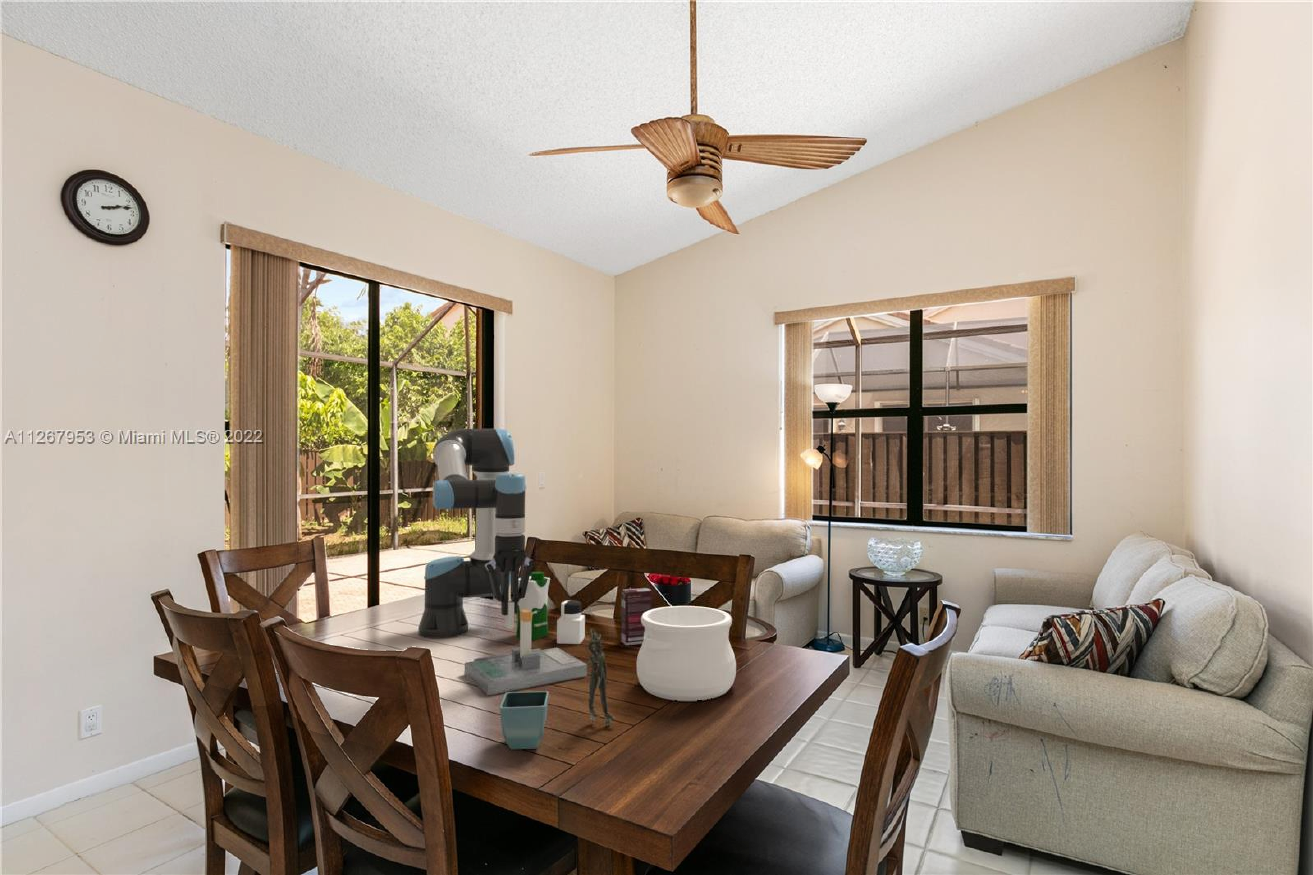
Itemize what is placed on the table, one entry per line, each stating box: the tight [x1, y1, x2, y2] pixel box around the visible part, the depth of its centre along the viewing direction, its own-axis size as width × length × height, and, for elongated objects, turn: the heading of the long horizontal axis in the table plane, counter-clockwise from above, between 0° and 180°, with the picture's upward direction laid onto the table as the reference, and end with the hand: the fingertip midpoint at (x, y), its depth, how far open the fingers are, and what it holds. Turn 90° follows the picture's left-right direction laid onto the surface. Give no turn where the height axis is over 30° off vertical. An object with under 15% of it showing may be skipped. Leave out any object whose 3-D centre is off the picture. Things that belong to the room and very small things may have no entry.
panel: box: [464, 647, 588, 696], centre depth 178 cm, size 18×26×6 cm
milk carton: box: [515, 570, 551, 641], centre depth 215 cm, size 9×9×20 cm
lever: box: [519, 609, 532, 659], centre depth 178 cm, size 4×2×13 cm, turn 33°
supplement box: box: [620, 587, 653, 646], centre depth 209 cm, size 9×5×16 cm, turn 110°
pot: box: [635, 605, 737, 702], centre depth 170 cm, size 26×24×18 cm
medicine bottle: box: [556, 599, 586, 645], centre depth 210 cm, size 7×7×12 cm
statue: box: [587, 628, 616, 727], centre depth 145 cm, size 5×6×20 cm
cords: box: [473, 648, 542, 661], centre depth 187 cm, size 5×21×3 cm, turn 123°
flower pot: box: [499, 690, 550, 750], centre depth 136 cm, size 9×9×9 cm
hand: (509, 627), depth 175 cm, fingers closed
